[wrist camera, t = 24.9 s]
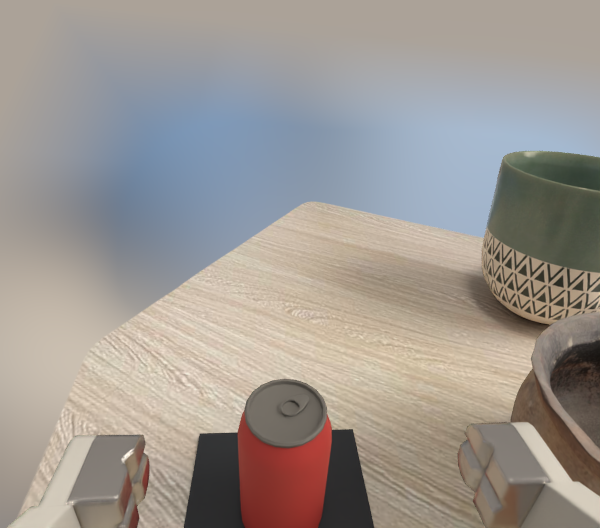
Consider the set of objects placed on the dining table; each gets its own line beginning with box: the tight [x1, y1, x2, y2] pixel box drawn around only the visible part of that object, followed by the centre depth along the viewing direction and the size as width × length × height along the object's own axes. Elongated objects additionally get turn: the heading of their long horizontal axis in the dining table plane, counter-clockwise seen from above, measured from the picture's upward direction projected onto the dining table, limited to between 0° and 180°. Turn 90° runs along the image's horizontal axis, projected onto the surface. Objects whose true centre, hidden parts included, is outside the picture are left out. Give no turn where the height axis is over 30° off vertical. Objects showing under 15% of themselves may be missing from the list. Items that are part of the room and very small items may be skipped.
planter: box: [482, 151, 600, 324], centre depth 55 cm, size 20×20×21 cm
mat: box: [184, 429, 374, 528], centre depth 33 cm, size 15×15×1 cm
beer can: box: [238, 379, 332, 528], centre depth 30 cm, size 7×7×12 cm
